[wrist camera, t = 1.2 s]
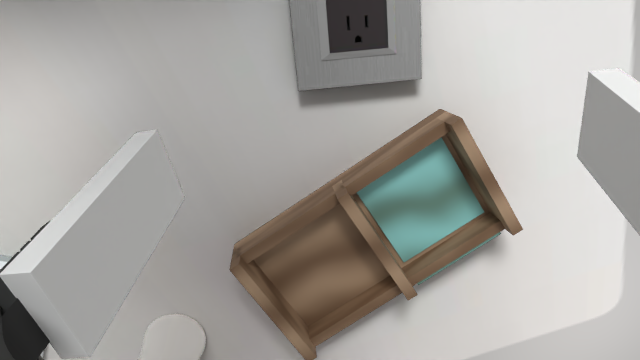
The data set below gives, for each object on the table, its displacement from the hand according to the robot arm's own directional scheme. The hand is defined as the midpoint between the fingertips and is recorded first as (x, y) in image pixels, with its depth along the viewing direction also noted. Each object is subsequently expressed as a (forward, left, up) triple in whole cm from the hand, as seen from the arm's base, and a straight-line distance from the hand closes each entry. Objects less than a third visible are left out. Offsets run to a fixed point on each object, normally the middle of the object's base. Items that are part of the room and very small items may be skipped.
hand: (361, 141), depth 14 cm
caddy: (+15, -3, -26) cm, 30 cm away
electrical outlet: (-3, +7, -27) cm, 28 cm away
